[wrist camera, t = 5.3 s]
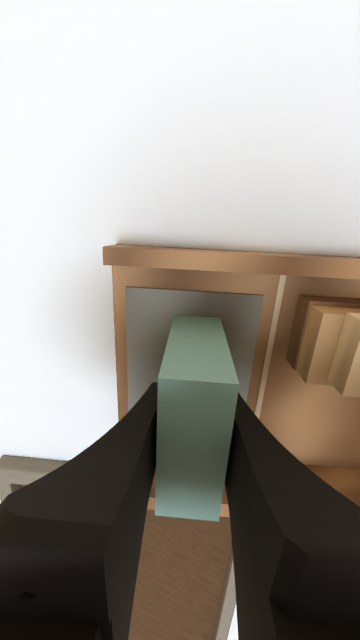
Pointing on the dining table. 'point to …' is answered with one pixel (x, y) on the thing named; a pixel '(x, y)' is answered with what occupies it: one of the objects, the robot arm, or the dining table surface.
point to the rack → (241, 341)
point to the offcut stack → (327, 342)
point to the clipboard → (165, 567)
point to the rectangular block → (194, 419)
